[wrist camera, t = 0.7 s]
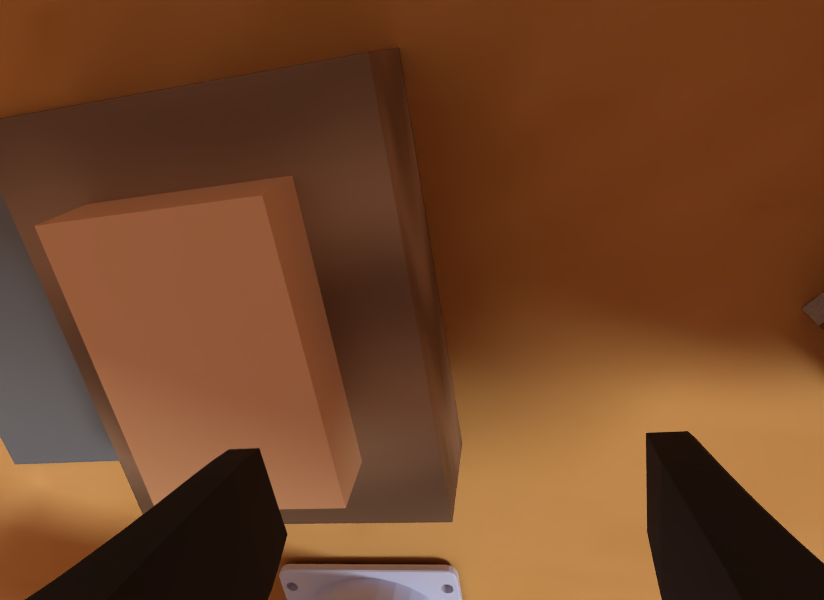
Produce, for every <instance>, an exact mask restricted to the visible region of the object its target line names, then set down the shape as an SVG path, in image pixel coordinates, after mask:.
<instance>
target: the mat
mask: <svg viewBox="0 0 824 600" xmlns="http://www.w3.org/2000/svg"><path fill="white" fill-rule="evenodd" d="M0 437H1V439H2V441H3V442H4V444H5V446H6V448H7V450H8V452H9V454H10V456H11V458H12V460H13V461H14V463H15V464H38V463H66V462H94V461H119V459H118V457H117V454H116V452H115V450H114V448H113V445H112V443H111V441H110V439H109V436H108V434H107V432H106V429H105V427H104V425H103V423H102V420H101V418H100V416H99V414H98V411H97V409H96V407H95V404H94V402H93V400H92V398H91V395H90V393H89V391H88V389H87V386H86V384H85V382H84V380H83V377H82V375H81V373H80V370H79V368H78V366H77V364H76V361H75V359H74V357H73V355H72V352H71V350H70V348H69V345H68V343H67V341H66V339H65V336H64V334H63V332H62V330H61V327H60V325H59V323H58V320H57V318H56V316H55V314H54V311H53V309H52V307H51V305H50V302H49V300H48V298H47V295H46V293H45V291H44V289H43V286H42V284H41V282H40V280H39V277H38V275H37V273H36V271H35V268H34V266H33V264H32V261H31V259H30V257H29V255H28V252H27V250H26V248H25V246H24V243H23V241H22V239H21V236H20V234H19V232H18V230H17V227H16V225H15V223H14V221H13V218H12V216H11V214H10V211H9V209H8V207H7V205H6V202H5V200H4V198H3V196H2V193H1V191H0Z"/></svg>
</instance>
